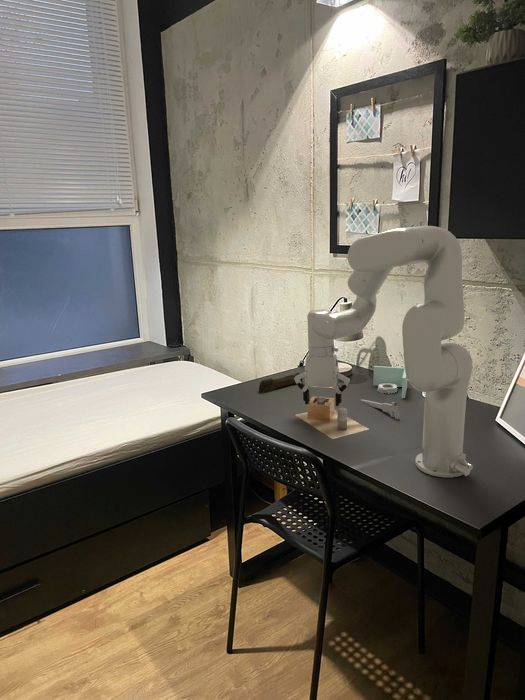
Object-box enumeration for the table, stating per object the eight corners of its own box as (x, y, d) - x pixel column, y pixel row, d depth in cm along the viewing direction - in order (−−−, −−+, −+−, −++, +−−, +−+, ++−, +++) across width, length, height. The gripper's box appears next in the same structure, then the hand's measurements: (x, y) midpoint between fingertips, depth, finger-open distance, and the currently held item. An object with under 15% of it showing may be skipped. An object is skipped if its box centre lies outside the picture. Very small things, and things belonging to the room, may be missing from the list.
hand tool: (297, 381, 199) (296, 369, 198) (303, 383, 196) (302, 372, 195) (255, 391, 190) (254, 379, 188) (261, 394, 186) (260, 382, 185)
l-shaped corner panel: (373, 385, 191) (374, 365, 189) (407, 387, 187) (407, 367, 185) (369, 396, 180) (369, 375, 178) (404, 398, 176) (405, 378, 174)
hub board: (369, 432, 150) (369, 410, 149) (332, 442, 145) (332, 419, 143) (329, 409, 169) (329, 389, 167) (295, 417, 163) (294, 397, 161)
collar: (334, 412, 163) (334, 398, 162) (329, 421, 157) (329, 405, 156) (312, 410, 166) (312, 396, 164) (307, 419, 159) (307, 404, 158)
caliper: (399, 422, 157) (400, 403, 156) (396, 423, 157) (397, 404, 155) (360, 402, 175) (360, 384, 174) (357, 402, 175) (358, 385, 173)
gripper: (351, 348, 156) (352, 401, 160) (296, 347, 162) (298, 398, 166) (347, 354, 149) (348, 409, 154) (290, 352, 155) (292, 406, 159)
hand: (322, 403), depth 160 cm, fingers open, 9 cm apart
